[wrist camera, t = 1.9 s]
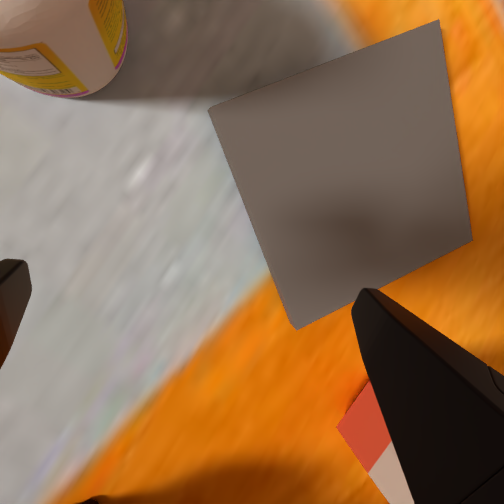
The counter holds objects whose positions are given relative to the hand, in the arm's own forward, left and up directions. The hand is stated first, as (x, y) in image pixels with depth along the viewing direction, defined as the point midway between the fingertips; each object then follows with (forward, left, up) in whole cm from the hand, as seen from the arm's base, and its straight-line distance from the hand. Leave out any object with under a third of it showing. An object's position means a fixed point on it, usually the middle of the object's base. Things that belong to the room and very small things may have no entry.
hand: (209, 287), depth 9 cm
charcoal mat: (-2, -12, -12) cm, 17 cm away
